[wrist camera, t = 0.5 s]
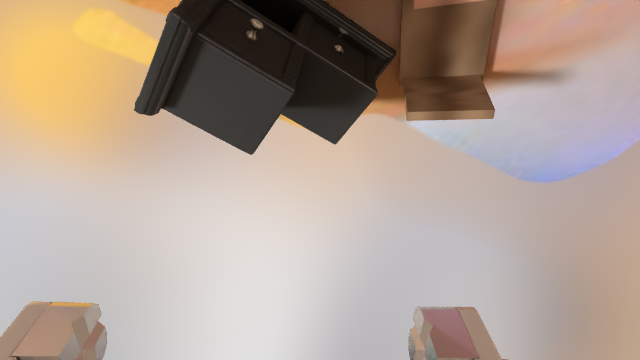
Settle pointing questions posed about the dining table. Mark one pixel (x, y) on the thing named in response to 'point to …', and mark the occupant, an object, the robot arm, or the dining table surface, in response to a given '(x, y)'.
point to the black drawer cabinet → (263, 68)
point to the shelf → (445, 58)
